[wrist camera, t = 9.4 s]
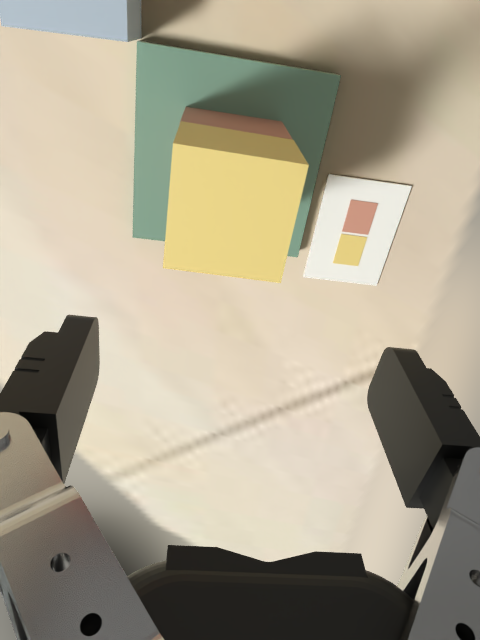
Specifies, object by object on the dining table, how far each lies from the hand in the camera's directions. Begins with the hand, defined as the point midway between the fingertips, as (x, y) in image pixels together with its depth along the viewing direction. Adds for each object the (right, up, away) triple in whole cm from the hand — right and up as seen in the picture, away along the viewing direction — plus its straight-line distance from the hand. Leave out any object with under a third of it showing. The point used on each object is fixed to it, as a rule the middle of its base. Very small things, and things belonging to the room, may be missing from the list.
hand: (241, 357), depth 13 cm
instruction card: (+8, +7, +21) cm, 24 cm away
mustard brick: (-1, +9, +13) cm, 15 cm away
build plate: (-1, +12, +18) cm, 22 cm away
